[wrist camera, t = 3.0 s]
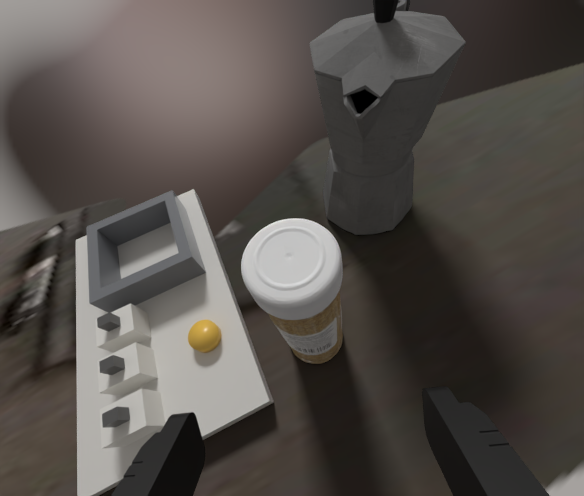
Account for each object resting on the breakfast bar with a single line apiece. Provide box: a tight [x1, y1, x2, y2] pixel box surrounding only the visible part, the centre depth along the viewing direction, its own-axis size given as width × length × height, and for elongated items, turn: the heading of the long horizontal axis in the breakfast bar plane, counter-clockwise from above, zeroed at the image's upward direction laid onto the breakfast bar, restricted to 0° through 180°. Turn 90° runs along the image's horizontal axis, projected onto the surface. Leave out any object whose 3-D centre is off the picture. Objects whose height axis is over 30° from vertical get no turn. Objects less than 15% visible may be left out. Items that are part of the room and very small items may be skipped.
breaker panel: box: [76, 189, 274, 496], centre depth 25 cm, size 14×24×5 cm, turn 24°
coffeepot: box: [310, 0, 465, 235], centre depth 23 cm, size 15×9×18 cm, turn 160°
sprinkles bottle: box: [241, 218, 343, 364], centre depth 18 cm, size 5×5×14 cm
